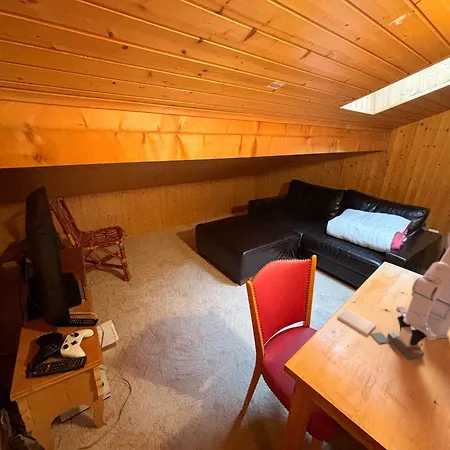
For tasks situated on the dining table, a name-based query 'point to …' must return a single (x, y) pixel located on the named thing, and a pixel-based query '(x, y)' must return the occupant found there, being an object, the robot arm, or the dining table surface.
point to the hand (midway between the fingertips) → (408, 339)
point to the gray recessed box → (407, 352)
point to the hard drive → (356, 322)
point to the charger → (406, 336)
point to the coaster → (380, 337)
